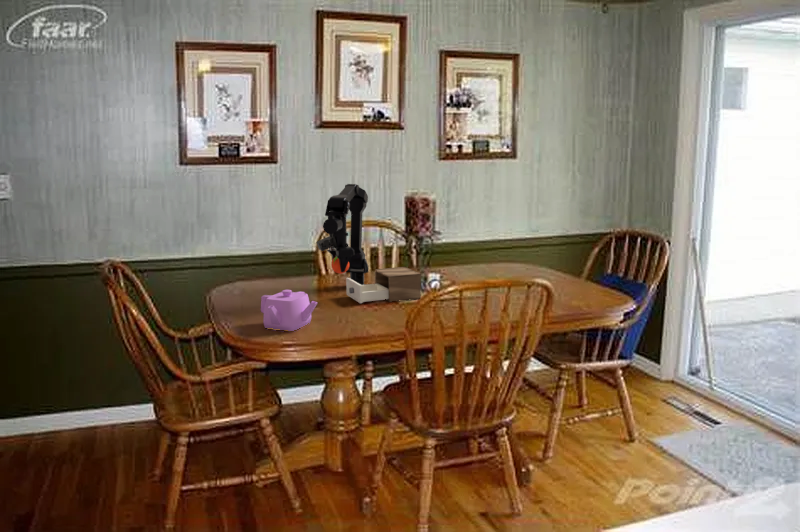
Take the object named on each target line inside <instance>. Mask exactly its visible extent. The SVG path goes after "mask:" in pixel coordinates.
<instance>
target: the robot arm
mask: <svg viewBox="0 0 800 532" xmlns="http://www.w3.org/2000/svg"><path fill="white" fill-rule="evenodd" d="M368 199H369V196H368V193H367V191H366V190H365V189H363V188H362V187H360V185H359V184H356V183H347V184H345V186H344V188H343V189H342V190H341V191H340V193H338V194H336V195H335V194H334V195H332V196H330V197H329V198H328V200H327V203H326V209H325V214H324V215H325V217H327V219H325V220H324V222H323V223H322V229H323V230H324V232H325V233H326V234H329V235H328V236H326V237H324V238H322V239H319V240H318V241H316V245H317V248H318V250H319V251H321V252H324V251H327V252H328V253H329V254H330V255H331V258H332V260H333V259H334V258H335V257H337V258H338V259H339V263H340V269H341V272H344V271H345V269H346V267H347V264H348V262H349V269H348V270H347V271H346V272H345V273H350V276H349V278H350V279H352V280H354V281H356V282H357V283H359V284H361V285H366V284H365V274H367V273H369V271H370V270H369V265H368V261H367V259H366V254H365V252H364V250H363V248H362V241H363V240H362V238H363V213H364V211H365V209H366V208H367V203H368V201H369V200H368ZM349 211H350V245H349V243H348V242H347V238H348V236H349V232H347V215H349Z"/></svg>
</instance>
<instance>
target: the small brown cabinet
mask: <svg viewBox="0 0 800 532" xmlns="http://www.w3.org/2000/svg"><path fill="white" fill-rule="evenodd" d="M421 277H422V274H421V273H420V272H417V271H416V270H413V269H411V268H408V267H406V266H398V267H388V268H387V267H386V268H376V269H374V284H377V283H378V284H380V285H382V286H384V287H386V288H388V289H389V299H386V300H385V301H387V302H388V303H393V302H392V301H397V302H400V301H399V300H406V301H410V300H409V299H415V300H420V299H419V298H421V294H422V293H421V291H422V290H421V286H422V285H421V280H422V279H421Z"/></svg>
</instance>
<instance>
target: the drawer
mask: <svg viewBox="0 0 800 532" xmlns="http://www.w3.org/2000/svg"><path fill="white" fill-rule="evenodd" d="M345 279H346V281H345V283H346V287H345V288H346V296H348V298H349V297H350V298H351V299H353V300H354V301H356V302H358V303H359V304H363V303H365V302H372V301H373V302H374V301H383V300H385V299H389V289H388V288H386V287H384V286H382V285H380V284H378V283H377V284H375V283H367V284H365V285H361V284H359V283H357V282H356V281H354V280H352V279H350V277H346V278H345ZM385 301H386V300H385Z"/></svg>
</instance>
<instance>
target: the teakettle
mask: <svg viewBox="0 0 800 532" xmlns="http://www.w3.org/2000/svg"><path fill="white" fill-rule="evenodd" d="M260 299H261V300H260V301H261V302H260V312H261V313H262V314H263V320H262V321H263V326H264V329H265V328H273V329H280V330H288V331H294V330H297V329H299V328H301V327H303V326H305V325H307V324H308V323H309V324H311V320H312V313H313V312H314V310H315V308H316V306H317V305H318V302H317V301H314V300H312V301H310V298H309V295H308V293H306V292H305V291H295V292H294V291H293V290H291V289H283V290H281V291H280V292H277V293H275V294H273V295H271V294H270V295H268V294H264V295H262V296H261V297H260ZM309 324H308V325H309ZM308 325H307V326H308ZM305 327H306V326H305ZM303 328H304V327H303ZM301 329H302V328H301ZM299 330H300V329H299ZM297 331H298V330H297ZM294 332H295V331H294Z"/></svg>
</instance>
